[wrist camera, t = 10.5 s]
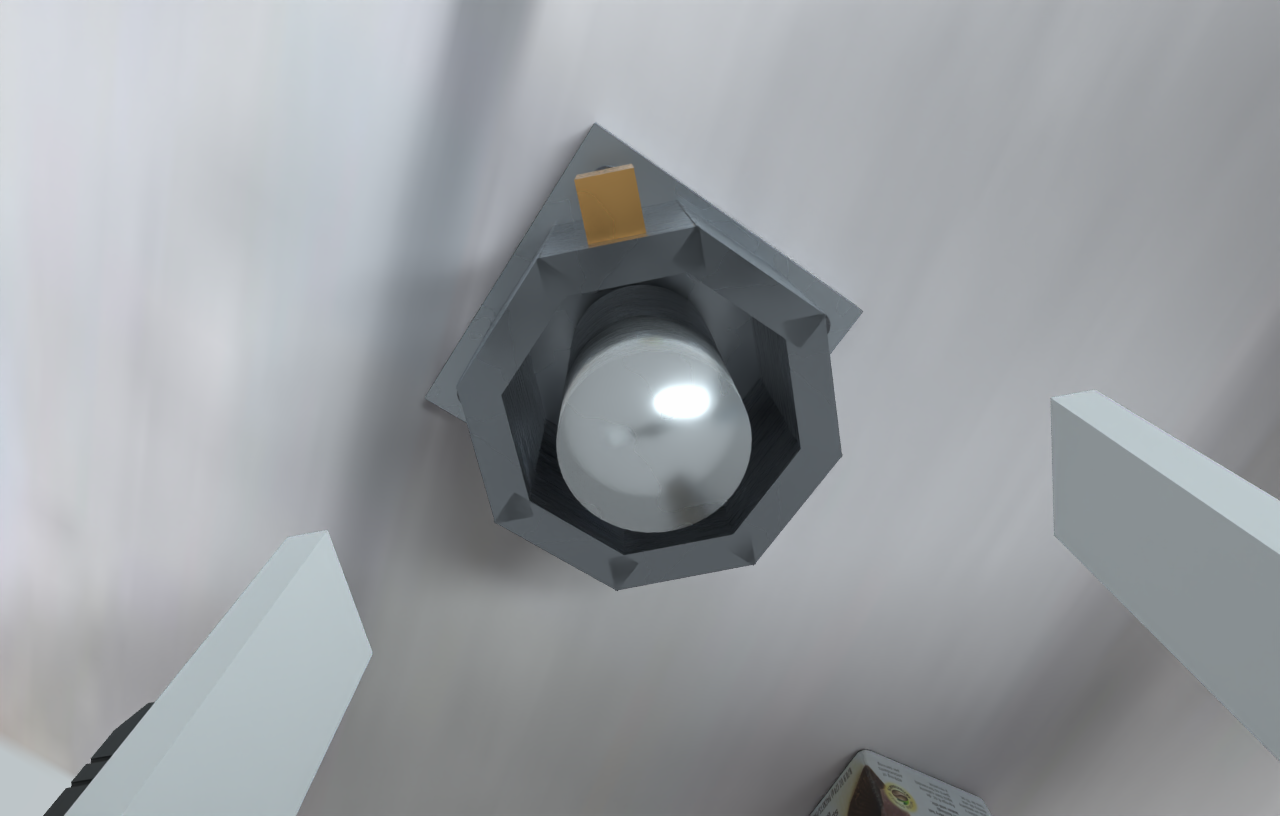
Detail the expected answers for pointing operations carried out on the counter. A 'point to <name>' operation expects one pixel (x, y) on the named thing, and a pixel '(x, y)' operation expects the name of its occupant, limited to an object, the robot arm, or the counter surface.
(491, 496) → the collar
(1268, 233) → the counter surface
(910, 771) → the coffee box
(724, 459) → the bolted post base
